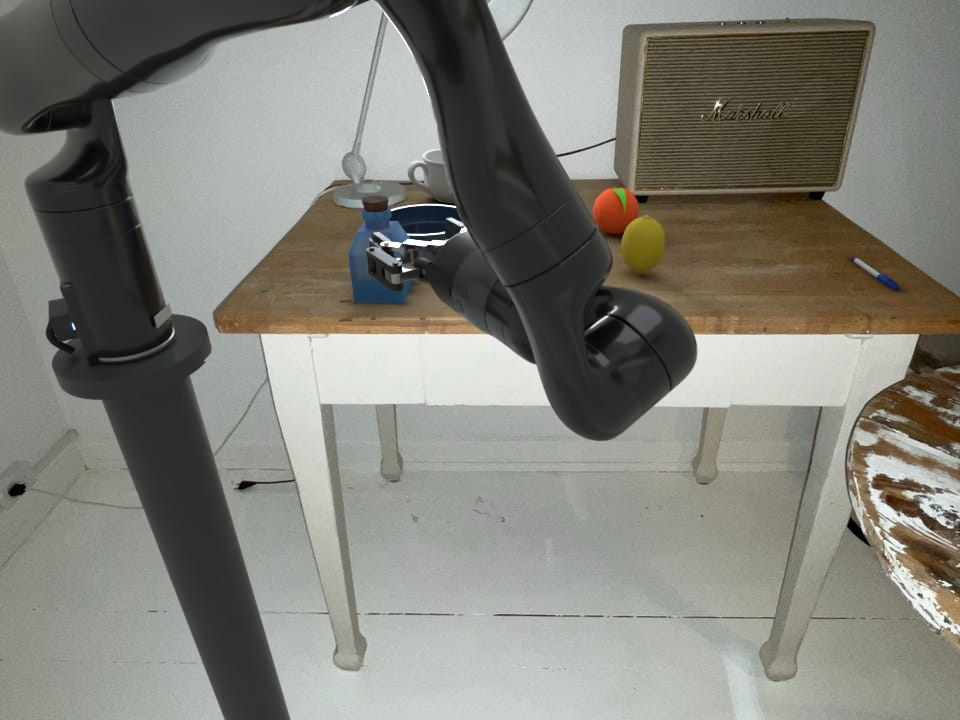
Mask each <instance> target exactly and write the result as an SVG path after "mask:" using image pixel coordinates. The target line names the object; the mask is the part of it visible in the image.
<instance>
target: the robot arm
mask: <svg viewBox="0 0 960 720" xmlns="http://www.w3.org/2000/svg"><path fill="white" fill-rule="evenodd" d="M369 1H370V0H21V1H20V2H19V3H18V4H16V5H15V6H14V7H12V8H11V9H9V10H8V11H6V12H5V13H3V14H1V15H0V132H1V133H5V134H6V135H11V136H17V137H19V136H20V137H28V136H29V137H30V136H35V135H36V136H37V135H43V134H44V135H45V134H50V133H55V132H62V131H65V140H64V143H63V145H62V146H61V148H60V149H59V150H58V151H57V153H56V154H54V156H53V157H52V158H50V159H49V160H47V161H46V162H45V163H43V164H42V165H41V166H39V167H37V168H36V169H34V170H33V171H31V172H30V173H29V174H28V175H26V177H25V179H24V182H23V187H24V190H25V194H26V196H27V199H28V202H29V204H30V205H29V206H30V207H31V209H32V212H33V215H34V217H35V221H36V222H37V226H38V228H39V231H40V233H41V237H42V238H43V241H44V244H45V246H46V249H47V251H48V254H49V256H50V259H51V262H52V265H53V267H54V270H55V272H56V276H57V278H58V280H59V283H58V284H59V290H60V293H61V295H62V297H61V298H56V299H51V300H48V302H47V304H48V321H47V325H46V328H45V337H46V339H47V341H48V342H49V343H50V344H51V345H52V346H53V347H55V348H57V349H58V350H59V349H61V350H63V351H65V352H67V353H69V354H72V353H73V352H74V351H75V348H74V347H72V346H70V345H68V344H66V343H67V342H68V341H70V340H72V339H76V338H79V340H80V343H81V345H82V348H83V351H84V353H85V356H86V358H87V361H88V364H89V366H90V367H92V366H96V365H120V364H127V363H133V362H137V361H141V360H144V359H147V358H150V357H152V356H155V355H157V354H159V353H161V352H163V351H164V350H166V349H167V348H169V347H170V346H171V345H172V344H173V343H174V341H175V339H176V334H175V330H174V327H173V326H172V322H171V319H170V316H171V315H172V314H173V312H172V307H171V304H170V303H168V304H167V303H166V299H165V297H164V292H163V290H162V286H161V282H160V280H159V276H158V273H157V269H156V266H155V262H154V259H153V256H152V253H151V250H150V246H149V243H148V239H147V235H146V232H145V229H144V226H143V225H144V224H143V222H142V219H141V215H140V212H139V209H138V205H137V202H136V199H135V196H134V192H133V191H134V190H133V188H132V185H131V181H130V168H129V167H130V165H129V159H128V156H127V152H126V148H125V143H124V140H123V135H122V132H121V127H120V124H119V119H118V114H117V110H116V105H115V102H114V100H120V99H126V98H131V97H136V96H139V95H143V94H148V93H151V92H155V91H158V90H160V89H162V88H165V87H167V86H169V85H172V84H174V83H176V82H179V81H182V80H184V79H186V78H187V77H189V76H191V75H193V74H194V73H196V72H197V71H199V70H200V69H202V68H204V67H205V66H206V65H207V64H208V63H209V62H210V60H211V59H212V58H213V57H214V56H215V53H216V51H217V49H218V47H219V46H220V44H222V43H225V42H227V41H230V40H233V39H238V38H240V37H245V36H249V35H252V34H256V33H259V32H265V31H269V30H275V29H279V28H285V27H290V26H296V25H300V24H307V23H311V22H315V21H320V20H325V19H328V18H332V17H335V16H338V15H340V14H342V13H344V12H346V11H348V10H350V9H353V8H355V7H357V6H360V5H362V4H365V3H368V2H369ZM374 2H375V3H376V4H377V6H379V8H380V9H381V10H382V12H383V13H384V14H385V15H386V17H387V19H389V21H390V22H391V24H392V25H393V26H394V28H395V29H396V31H397V32H398V33H399V34H400V36H401V38H402V40H403V42H404V43H405V45H406V46H407V48H408V51H410V53H411V56H412V57H413V59H414V61H415V64H416V65H417V69H418V70H419V73H420V75H421V78H422V80H423V84H424V87H425V89H426V92H427V95H428V98H429V99H428V100H429V101H430V105H431V109H432V114H433V118H434V123H435V127H436V133H437V139H438V143H439V149H441V154H442V159H443V163H444V169H445V174H446V178H447V182H448V186H449V189H450V192H451V195H452V199H453V201H454V203H453V204H454V206H455V207H456V209H457V212H458V214H459V216H460V218H461V220H462V222H463V223H462V222H460V221H457V220H455V219H453V218H447V219H445V220H444V226H445V236H446V238H447V240H443V241H438V240H433V241H432V242H426V241H418V240H410V239H408V240H406V241H405V242H403V243H396V242H392V241H391V240H389V239H388V238H387V237H385V236H384V235H382V234H381V233H379V232H375V233H372V234H371V238H369V246H370V247H369V248H366V255H367V262H368V274H369V275H371V276H372V277H374V278H375V279H376V280H378V281H379V282H381V283H382V284H384V285H385V286H386V287H388V288H389V289H391V290H392V291H402V290H403V289H404V281H408V280H412V279H413V280H415V279H416V280H417V281H418V282H421V283H424V284H429V285H430V286H431V289H432V290H433V291H434V293H435V294H436V296H437V297H438V299H439V300H440V301H441V302H442V303H443V304H445V305H447V306H448V307H449V308H450V309H451V310H453V311H454V312H455V313H457V314H458V315H459V316H460V317H462V318H463V319H465V320H466V321H467V322H468V323H470V324H471V325H473V326H474V327H475V328H476V329H478V330H479V331H481V332H483V333H485V334H486V335H489V336H491V337H493V338H495V339H496V340H497V341H498V342H500V343H502V344H503V345H505V347H507V348H508V349H510V351H512V352H513V353H514V354H516V355H517V356H519V357H520V358H521V359H523V360H524V361H526V362H528V363H530V364H532V365H535V366H536V369H537V372H538V376H539V379H540V382H541V385H542V388H543V390H544V393H545V395H546V399H547V401H548V403H549V404H550V406H551V409H552V411H553V412H554V413H555V415H556V416H557V418H558V419H559V420H560V421H561V423H562V424H563V425H564V426H565V427H566V428H567V429H568V430H570V431H571V432H573V433H574V434H576V435H577V436H579V437H582V438H584V439H587V440H589V441H595V442H607V441H611V440H614V439H615V438H617V437H619V436H621V435H623V433H625V432H626V431H628V429H629V428H631V427H632V426H633V425H634V424H635V423H636V422H638V421H639V420H640V419H641V418H642V417H643V416H644V415H645V414H647V413H648V411H650V410H651V409H652V408H653V407H655V406H656V405H657V404H658V403H659V402H661V400H663V399H664V398H665V397H666V396H668V394H669V393H671V392H672V391H673V390H674V389H676V387H678V386H679V385H680V384H681V383H683V381H684V380H686V379H687V378H688V376H689V375H690V374H691V372H692V371H693V370H694V368H695V365H696V363H697V362H698V361H697V360H698V354H699V349H698V343H697V339H696V335H695V333H694V331H693V329H692V327H691V326H690V324H689V323H688V321H687V320H686V319H685V318H684V317H683V315H681V313H680V312H679V311H678V310H677V309H675V308H674V307H673V306H671V304H668V303H667V302H665V301H664V300H662V299H660V298H658V297H656V296H654V295H651V294H649V293H646V292H644V291H641V290H636V289H633V288H628V287H620V286H614V285H606V284H605V282H606V280H607V279H608V277H609V275H610V274H611V271H612V268H613V264H614V257H613V253H612V250H611V248H610V246H609V243H608V242H607V239H606V238H605V236H604V234H603V233H602V231H601V229H600V228H599V227H598V226H597V224H596V223H595V220H594V217H593V215H592V214H591V212H590V211H589V209H588V208H587V206H586V204H585V202H584V200H583V199H582V197H581V195H580V193H579V192H578V190H577V188H576V186H575V185H574V183H573V181H572V180H571V178H570V176H569V174H568V173H567V171H566V169H565V168H564V166H563V165H562V163H561V161H560V159H559V157H558V155H557V154H556V152H555V149H554V148H553V147H552V145H551V143H550V141H549V138H548V137H547V135H546V133H545V131H544V130H543V128H542V125H541V124H540V121H539V120H538V117H537V115H536V114H535V112H534V110H533V108H532V106H531V104H530V101H529V99H528V97H527V95H526V92H525V91H524V89H523V87H522V84H521V81H520V79H519V76H518V74H517V72H516V70H515V67H514V65H513V63H512V60H511V58H510V55H509V53H508V50H507V48H506V47H505V42H504V41H503V38H502V36H501V34H500V31H499V28H498V26H497V23H496V21H495V18H494V16H493V14H492V12H491V9H490V7H489V4H488V1H487V0H374ZM413 250H419V252H418V254H417V256H416V258H415V260H414V258H413ZM394 252H399V253H400V254H401V259H400V258H397V259H395V258H394ZM66 341H67V342H66Z"/></svg>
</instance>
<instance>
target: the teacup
mask: <svg viewBox="0 0 960 720" xmlns="http://www.w3.org/2000/svg"><path fill="white" fill-rule="evenodd" d="M417 168H421V169H422V171H423V182H421V181H419V180H418V179H417V178H416V177H415V171H416V169H417ZM407 177H408V179H409V180H410V182H411V183H412V184H413V185H415V186H416V187H418V188H420V189H422V190H423V191H424V193H426V194H429V195H430V196H432V197H433V198H434V199H435V200H436V201H438V202H440V203H444V204H454V201H453V199H452V195H451V192H450V189H449V186H448V182H447V178H446V174H445V169H444V163H443V159H442V154H441V149H440V148H435V149H430V150H428V151H426V152H424V153H423V154H422V160H414V161H412V162H411V163H410V164H409V166H408V168H407Z"/></svg>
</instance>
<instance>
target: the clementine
mask: <svg viewBox="0 0 960 720" xmlns="http://www.w3.org/2000/svg"><path fill="white" fill-rule="evenodd" d="M639 213H640V206H639V201H638V199H637V198H636V196H635V195H634V194H633V193H632V192H631V191H630V190H628V189H627V188H624V187H619V186H617V187H610V188H607V189H605V190H604V191H603V192H601V193H599V195H598V196H597V197H596V199H595V201H594V204H593V207H592V217H593V219H594V221H595V223H596V225H597V226H598V228H599V230H602V231H603V232H605V233H607V234H611V235H618V234H624V232H625V230H626V228H627V226H628V225H629V224H630V223H631V222H632V221H634V220H635V219H638V218H639Z"/></svg>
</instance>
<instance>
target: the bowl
mask: <svg viewBox="0 0 960 720" xmlns="http://www.w3.org/2000/svg"><path fill="white" fill-rule="evenodd" d="M447 218H453V219H455V220H457V221H460V222H462V220H461V218H460V216H459V214H458V212H457V209H456V206H455V205H448V204H439V203H422V204H411V205H405V206H399V207H395V208H391V218H389V221H398V222H399V224H400V225H401V226H402V228H403V229H404V231H405V232H406V233H407V235H408V236H409V237H410V240H418V241H426V242H432V241H433V240H438V241H443V240H447V238H446V236H445V226H444V220H445V219H447ZM462 223H463V222H462ZM418 252H419V250H413V258H414V260H415V258H416V256H417V254H418Z"/></svg>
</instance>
